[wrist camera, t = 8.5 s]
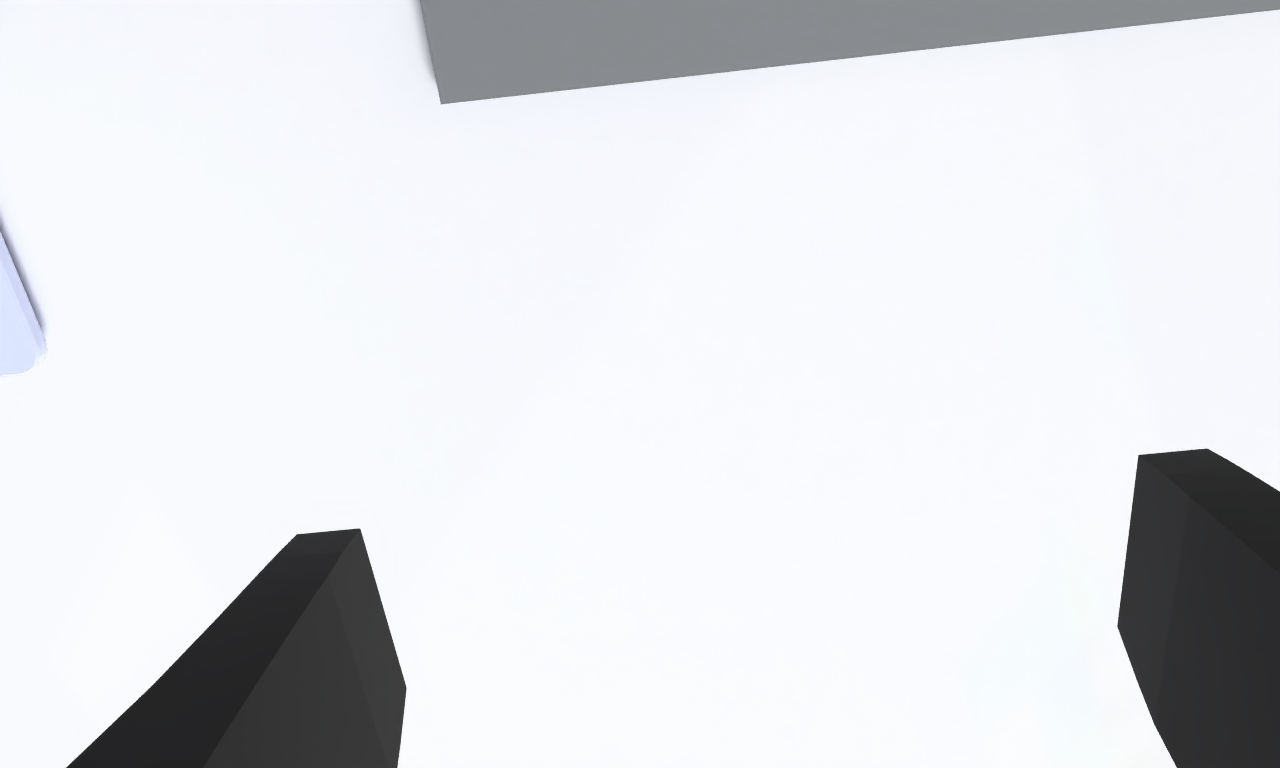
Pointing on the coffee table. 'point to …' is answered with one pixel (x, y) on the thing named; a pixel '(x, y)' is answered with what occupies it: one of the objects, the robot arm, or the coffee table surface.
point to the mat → (736, 34)
